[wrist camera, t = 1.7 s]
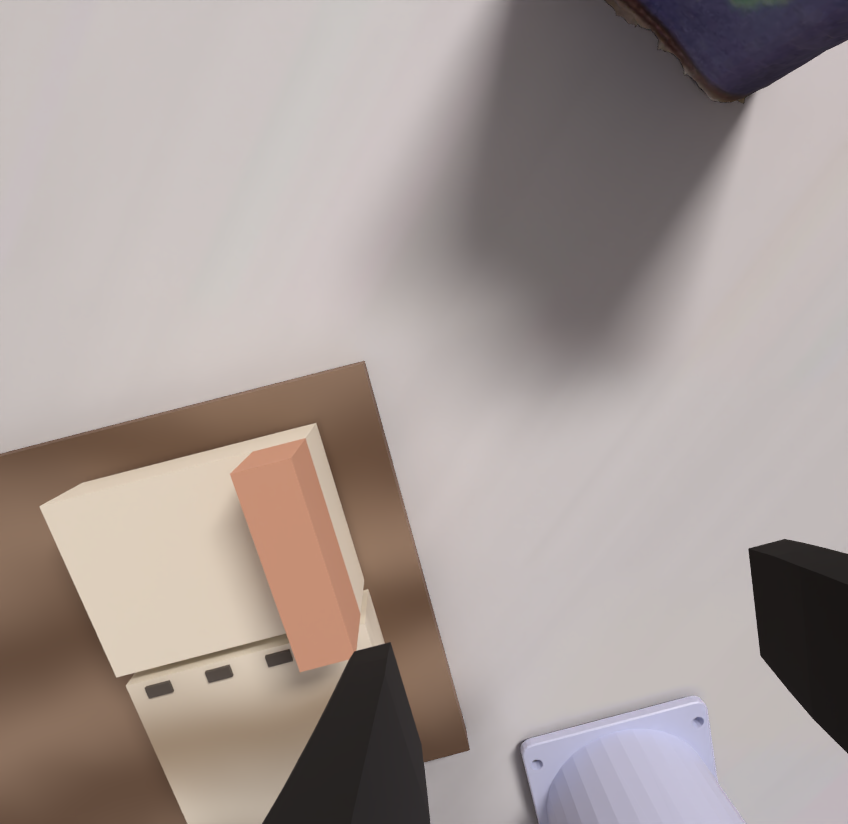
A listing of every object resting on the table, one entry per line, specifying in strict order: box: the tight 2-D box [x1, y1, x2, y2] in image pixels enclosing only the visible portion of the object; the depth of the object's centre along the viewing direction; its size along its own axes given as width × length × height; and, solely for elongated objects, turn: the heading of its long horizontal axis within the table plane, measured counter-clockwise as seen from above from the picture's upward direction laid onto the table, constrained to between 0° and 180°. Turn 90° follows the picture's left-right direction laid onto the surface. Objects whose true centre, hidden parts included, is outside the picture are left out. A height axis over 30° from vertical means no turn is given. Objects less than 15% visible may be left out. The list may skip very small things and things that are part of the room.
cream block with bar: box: [39, 423, 364, 678], centre depth 15 cm, size 6×8×4 cm
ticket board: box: [0, 361, 470, 824], centre depth 17 cm, size 16×20×3 cm
